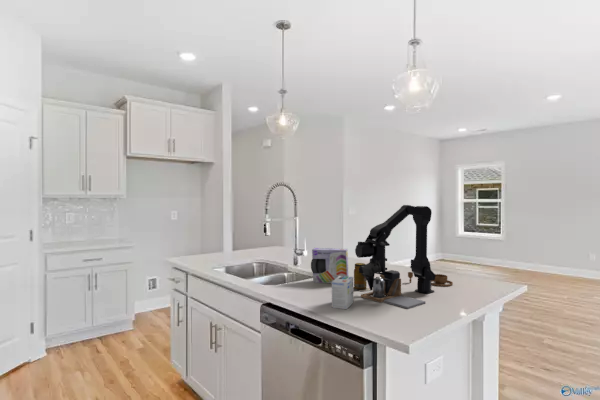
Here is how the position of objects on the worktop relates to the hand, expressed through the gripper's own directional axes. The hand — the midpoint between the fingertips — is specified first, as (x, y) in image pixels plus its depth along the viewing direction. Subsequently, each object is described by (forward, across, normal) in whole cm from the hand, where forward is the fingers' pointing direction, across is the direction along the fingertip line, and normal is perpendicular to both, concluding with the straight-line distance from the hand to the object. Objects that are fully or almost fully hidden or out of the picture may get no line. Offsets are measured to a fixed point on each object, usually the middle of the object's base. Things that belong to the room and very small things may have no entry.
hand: (378, 291), depth 160 cm
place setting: (+4, -1, +42) cm, 43 cm away
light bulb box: (+3, -2, -20) cm, 20 cm away
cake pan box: (+3, -34, +2) cm, 34 cm away
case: (+3, 0, +1) cm, 3 cm away
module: (+3, 0, 0) cm, 3 cm away
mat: (+2, +12, +2) cm, 12 cm away
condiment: (+3, -15, +5) cm, 16 cm away
